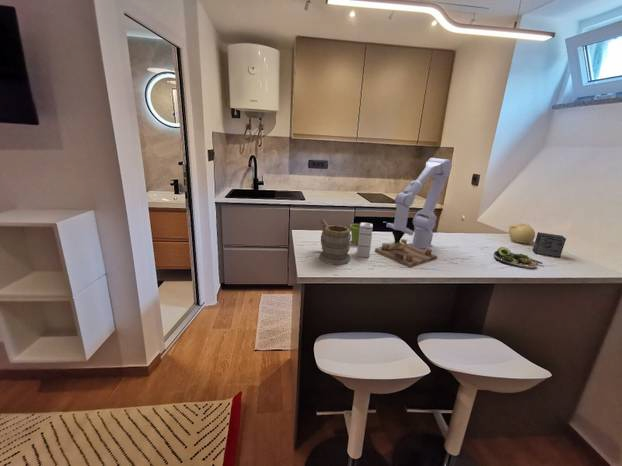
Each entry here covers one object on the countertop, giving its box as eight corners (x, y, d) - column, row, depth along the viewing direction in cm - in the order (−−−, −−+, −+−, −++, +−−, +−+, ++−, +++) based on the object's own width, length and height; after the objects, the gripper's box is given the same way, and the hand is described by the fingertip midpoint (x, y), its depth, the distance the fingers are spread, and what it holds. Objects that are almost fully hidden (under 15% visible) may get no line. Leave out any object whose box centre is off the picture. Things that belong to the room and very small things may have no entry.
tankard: (354, 262, 124) (358, 229, 119) (329, 266, 118) (332, 232, 114) (331, 246, 141) (333, 216, 136) (308, 249, 135) (309, 218, 130)
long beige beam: (383, 250, 135) (384, 245, 134) (380, 247, 138) (381, 243, 137) (405, 248, 139) (405, 243, 138) (401, 246, 141) (402, 241, 141)
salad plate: (538, 260, 140) (541, 252, 139) (545, 274, 125) (548, 264, 124) (493, 251, 149) (495, 243, 148) (494, 262, 134) (496, 253, 133)
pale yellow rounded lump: (519, 238, 173) (525, 221, 170) (537, 245, 162) (543, 227, 158) (502, 238, 171) (507, 220, 168) (519, 245, 160) (524, 227, 157)
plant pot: (353, 238, 155) (355, 222, 152) (369, 242, 150) (371, 226, 147) (345, 242, 147) (346, 226, 145) (361, 247, 142) (363, 230, 140)
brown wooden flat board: (401, 244, 149) (403, 237, 148) (436, 258, 134) (438, 250, 133) (374, 251, 138) (376, 243, 137) (409, 267, 123) (411, 258, 121)
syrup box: (369, 257, 130) (373, 226, 126) (356, 255, 131) (359, 225, 127) (369, 252, 136) (373, 223, 131) (356, 251, 137) (360, 221, 132)
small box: (556, 254, 150) (562, 235, 147) (560, 258, 144) (567, 238, 141) (531, 250, 154) (537, 231, 151) (534, 254, 148) (541, 234, 145)
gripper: (383, 215, 140) (379, 241, 144) (408, 223, 129) (403, 251, 133) (393, 213, 144) (389, 239, 148) (418, 221, 132) (413, 248, 137)
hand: (396, 244), depth 141 cm, fingers closed, pressing on long beige beam
